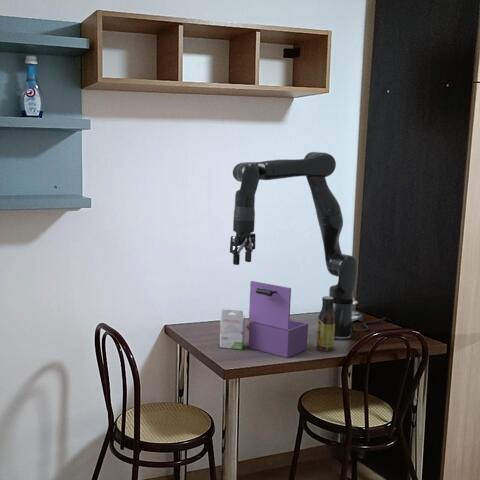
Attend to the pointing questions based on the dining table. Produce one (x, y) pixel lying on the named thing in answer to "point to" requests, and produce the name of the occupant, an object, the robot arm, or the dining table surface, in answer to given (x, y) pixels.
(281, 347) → the box
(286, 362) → the dining table surface
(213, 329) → the dining table surface
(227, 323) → the ink box
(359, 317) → the toy car
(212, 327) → the dining table surface
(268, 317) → the file box lid
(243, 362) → the dining table surface
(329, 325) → the sauce bottle
